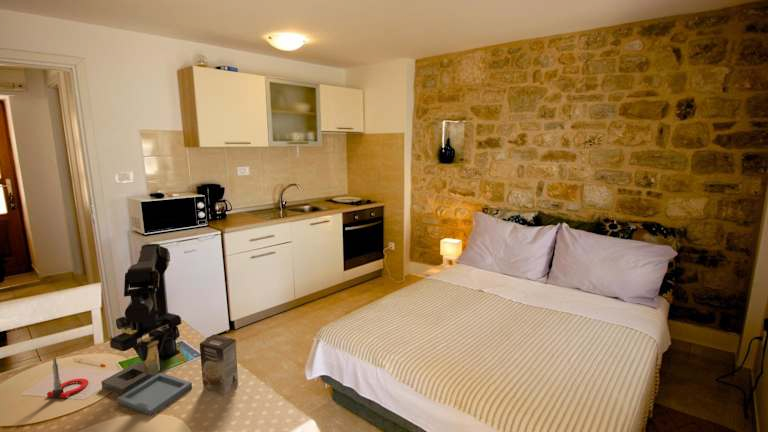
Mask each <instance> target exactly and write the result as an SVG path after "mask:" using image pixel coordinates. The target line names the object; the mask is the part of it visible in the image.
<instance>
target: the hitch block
mask: <svg viewBox="0 0 768 432" xmlns="http://www.w3.org/2000/svg"><path fill="white" fill-rule="evenodd" d="M159 373H160V370H159V371H158V372H156V373H154V374H149V375H148V374H145V371H144V363H143V362H140V361H136V362H134V363H133V364H131V365H129V366H127V367H126V368H124V369H122V370H120V371H118V372H116V373H115V374H113V375H111V376H109V377H107V378H105V379H103V380H101V389H102V390H105V391H108V392H111V393H113V394H116V395H118V396H122V395H124V394H125V393H127V392H129V391H130V390H132V389H134V388H135V387H137V386H139V385H140V384H142V383H144V382H145V381H147V380H149V379H150V378H152V377H154V376H155V375H157V374H159ZM131 376H132V377H133V376H135V377H133V378H132V379H131ZM129 378H130V380H128V379H129Z"/></svg>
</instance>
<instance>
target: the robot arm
mask: <svg viewBox="0 0 768 432" xmlns="http://www.w3.org/2000/svg"><path fill="white" fill-rule="evenodd" d="M170 262H171V254H170V250H169V249H168V248H167V247H164V246H161V244H159V243H146V244H143V245H141V250H140V251H139V257H138V260H137V262H136V263H135V264H132V265H130V267H129V268H128V269H127V272H125V274H124V284H123V285H124V289H123V297H124V298H125V297H130V302H129V303H128V305H127V307H126V309H125V311H124V316H120V317H118V318H115V326H116V328H117V330H123V329H124V331H127V330H128V329H130V331H135V332H132V333H131V334H130V333H126V332H122V333H121V334H117V335H116V336H114V337H111V339H110V341H109V346H110V348H111V349H114V350H117V351H121V352H127V351H129V350H130V349H133V350H134V352H136V355H137V356H138V357H139V359H140V361H141V362H143V361H145V359H146V342H144V341H142V339H143V337H144V336H148V337H158V338H159V343H158V344H157V346H158V355H159V360H162V361H166V360H168V359H170V358H171V357H174V356H176V355H177V354H178V353H180V352H181V350H180V349H178V348H177V340H178V338H181V333H180V330H179V327H178V326H180V325H182V317H181V316H180V315H178V314H175V313H170V312H169V307H168V297H167V287H166V275H165V273H166V271H167V270H168V267H169V266H170V265H169V264H170Z"/></svg>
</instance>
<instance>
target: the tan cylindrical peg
mask: <svg viewBox="0 0 768 432" xmlns="http://www.w3.org/2000/svg"><path fill="white" fill-rule="evenodd" d="M142 341H144V342H146V359H145V361H142V363H143V364H144V371H145V374H148V375H149V374H154V373H156V372H158V371H159V372H160V370H161V366H160V359H159V355H158V346H157V344H158V343H159V338H158V337H149V336H148V337H144V338H142Z"/></svg>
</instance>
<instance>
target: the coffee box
mask: <svg viewBox="0 0 768 432" xmlns="http://www.w3.org/2000/svg"><path fill="white" fill-rule="evenodd" d="M236 341H237V340H236V338H232V337H227V336H223V335H218V334H215V333H213V334H212V335H211V336H208V338H207V337H206V339H204V340H203V341H201V342H200V343H199V352H200V353H199V354H200V365H201V366H200V367H201V377H202V379H201V380H202V390H204V391H208V392H212V393H215V394H219V395H221V396H227V395H228V394H229V393H231V392H232V391H233V390H234V389H235V388H236V387H238V386H239V376H238V374H239V373H238V358H237V344H236V343H237V342H236Z"/></svg>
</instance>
